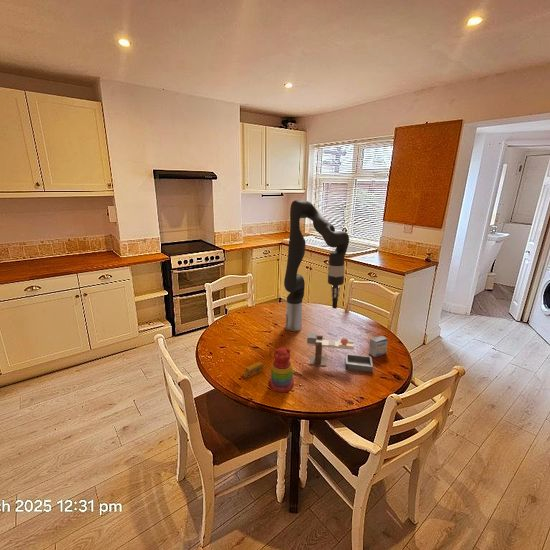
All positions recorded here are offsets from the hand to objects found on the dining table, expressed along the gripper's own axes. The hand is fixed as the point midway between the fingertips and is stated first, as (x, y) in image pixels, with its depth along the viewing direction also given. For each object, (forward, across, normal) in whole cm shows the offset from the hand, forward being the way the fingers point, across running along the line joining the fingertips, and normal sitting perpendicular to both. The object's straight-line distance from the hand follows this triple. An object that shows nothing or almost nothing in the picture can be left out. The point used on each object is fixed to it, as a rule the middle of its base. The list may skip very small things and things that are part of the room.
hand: (334, 307), depth 146 cm
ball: (+13, +9, +5) cm, 17 cm away
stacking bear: (+25, +30, -21) cm, 45 cm away
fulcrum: (+25, +8, -7) cm, 27 cm away
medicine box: (+26, -4, +22) cm, 34 cm away
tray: (+25, +9, +12) cm, 29 cm away
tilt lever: (+16, +9, -1) cm, 18 cm away
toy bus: (+25, +24, -36) cm, 50 cm away
